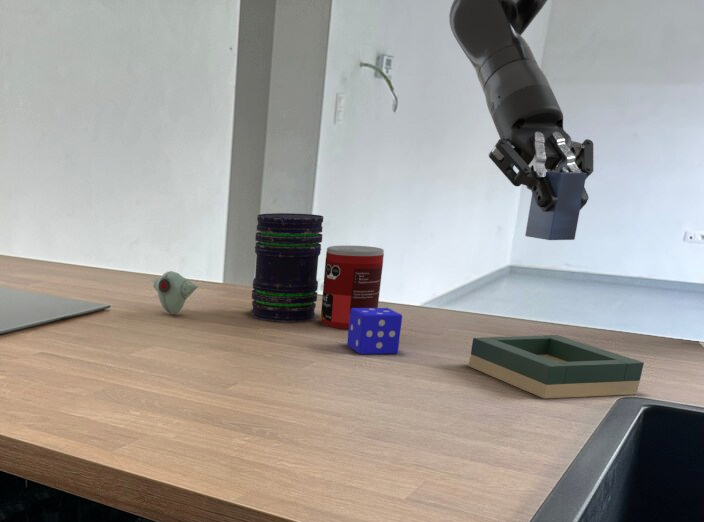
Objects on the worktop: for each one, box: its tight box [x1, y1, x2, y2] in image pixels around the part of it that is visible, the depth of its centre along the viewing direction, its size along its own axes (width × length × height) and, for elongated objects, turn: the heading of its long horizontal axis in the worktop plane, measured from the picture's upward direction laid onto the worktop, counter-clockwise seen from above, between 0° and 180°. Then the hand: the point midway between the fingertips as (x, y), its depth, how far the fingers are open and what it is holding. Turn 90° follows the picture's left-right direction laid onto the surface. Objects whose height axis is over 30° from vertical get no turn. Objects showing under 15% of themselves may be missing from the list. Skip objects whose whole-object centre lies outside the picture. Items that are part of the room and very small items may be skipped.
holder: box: [468, 334, 645, 400], centre depth 96 cm, size 11×14×4 cm
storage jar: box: [251, 212, 324, 323], centre depth 130 cm, size 10×10×15 cm
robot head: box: [152, 270, 199, 316], centre depth 132 cm, size 8×4×7 cm, turn 46°
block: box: [525, 171, 587, 241], centre depth 108 cm, size 4×5×8 cm
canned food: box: [320, 244, 385, 330], centre depth 124 cm, size 8×8×11 cm
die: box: [346, 307, 403, 355], centre depth 110 cm, size 5×5×5 cm
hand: (565, 206), depth 106 cm, fingers closed on block, 3 cm apart
